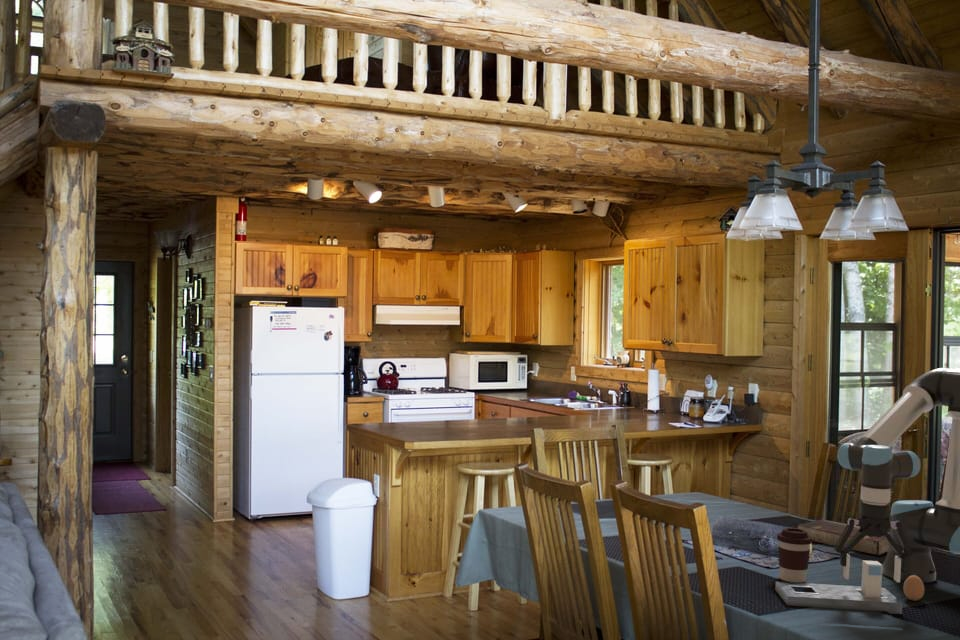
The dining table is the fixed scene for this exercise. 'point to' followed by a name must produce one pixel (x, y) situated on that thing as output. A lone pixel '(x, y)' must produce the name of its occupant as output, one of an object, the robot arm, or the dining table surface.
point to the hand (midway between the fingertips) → (871, 579)
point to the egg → (913, 588)
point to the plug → (871, 578)
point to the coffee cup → (794, 554)
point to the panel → (836, 597)
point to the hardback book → (832, 531)
